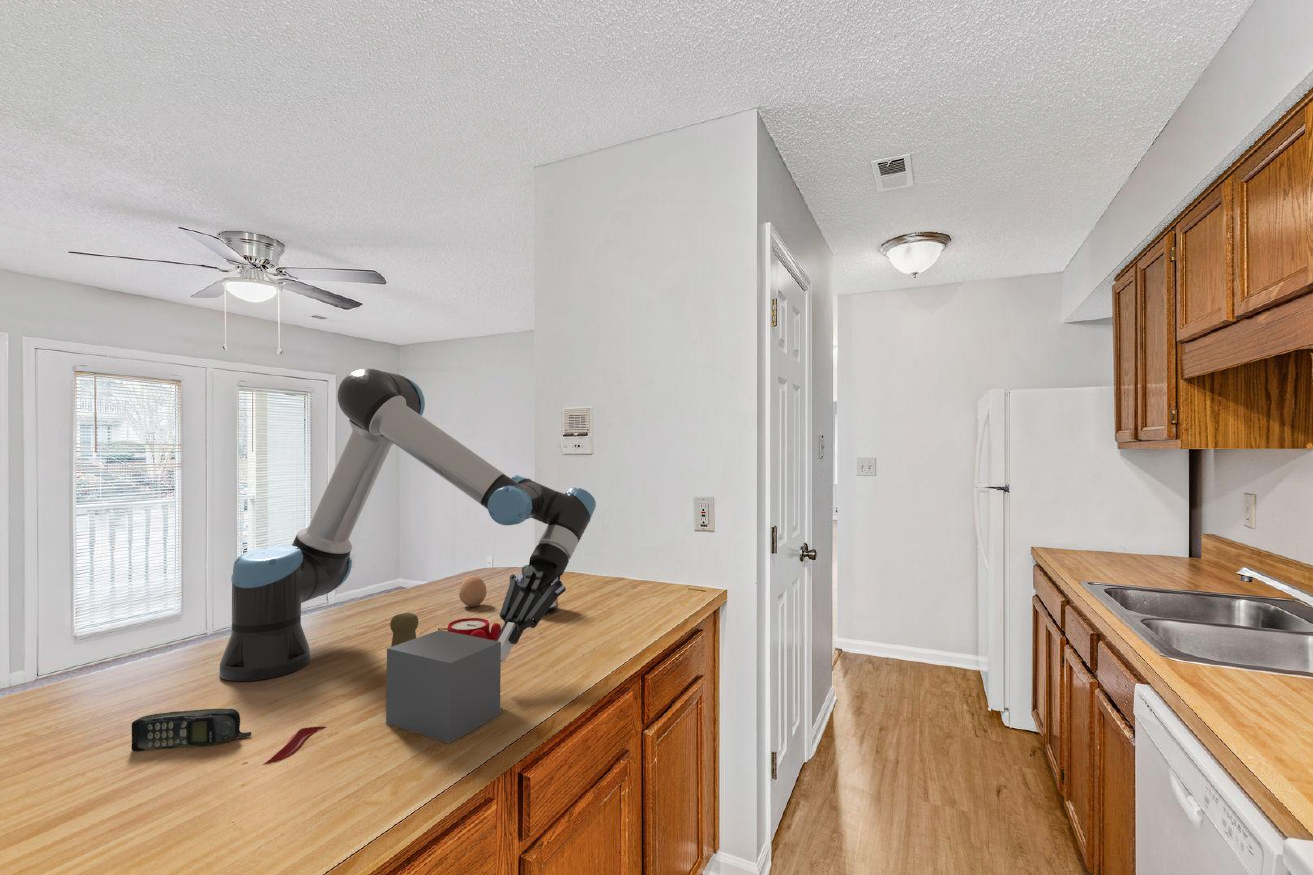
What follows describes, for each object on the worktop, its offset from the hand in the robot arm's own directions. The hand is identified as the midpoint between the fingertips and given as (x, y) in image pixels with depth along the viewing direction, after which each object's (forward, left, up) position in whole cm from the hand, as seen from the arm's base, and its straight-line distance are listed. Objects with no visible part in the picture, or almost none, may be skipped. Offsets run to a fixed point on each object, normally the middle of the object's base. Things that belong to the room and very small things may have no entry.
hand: (497, 657), depth 107 cm
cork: (-12, +20, -6) cm, 24 cm away
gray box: (-10, -6, -6) cm, 13 cm away
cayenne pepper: (-32, -3, -7) cm, 32 cm away
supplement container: (+27, +46, -6) cm, 53 cm away
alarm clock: (+4, +30, -6) cm, 31 cm away
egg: (+13, +60, -6) cm, 62 cm away
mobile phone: (-44, +6, -6) cm, 45 cm away
